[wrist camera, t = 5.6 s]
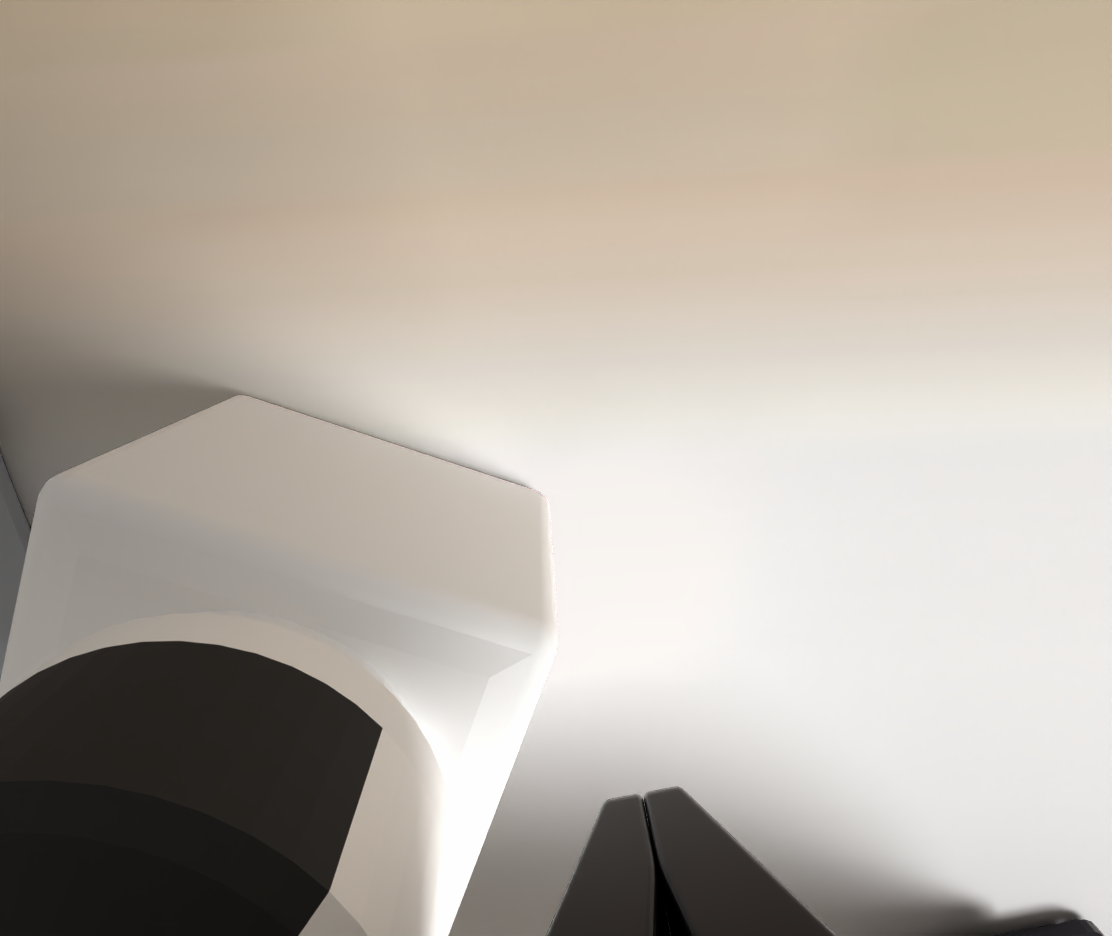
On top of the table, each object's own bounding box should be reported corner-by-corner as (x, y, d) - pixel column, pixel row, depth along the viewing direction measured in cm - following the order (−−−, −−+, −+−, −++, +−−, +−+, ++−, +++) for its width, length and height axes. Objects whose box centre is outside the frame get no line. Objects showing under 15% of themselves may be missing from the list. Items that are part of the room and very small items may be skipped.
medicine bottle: (161, 677, 19) (-464, 1368, 7) (235, 387, 17) (-415, 654, 5) (456, 762, 19) (339, 1515, 8) (554, 491, 18) (594, 926, 6)
